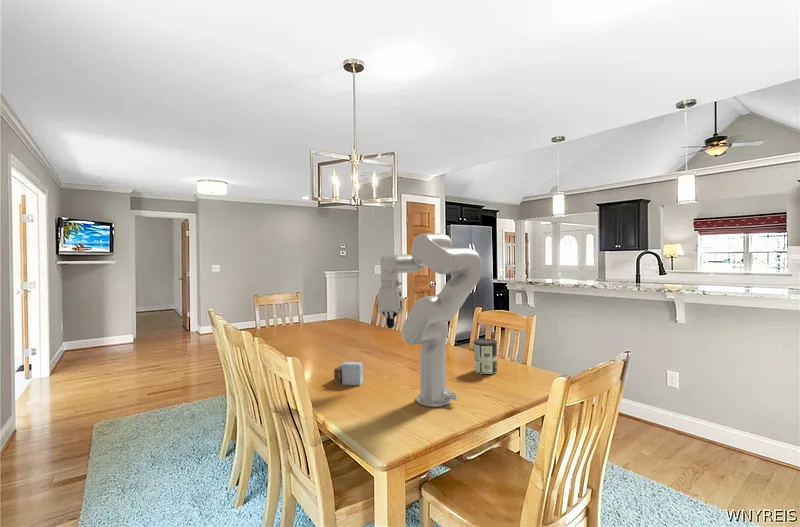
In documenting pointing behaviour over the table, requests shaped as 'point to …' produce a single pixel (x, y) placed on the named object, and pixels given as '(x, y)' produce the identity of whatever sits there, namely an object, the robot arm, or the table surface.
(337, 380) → the walnut block
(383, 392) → the table surface
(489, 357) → the coffee can
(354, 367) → the medicine box
